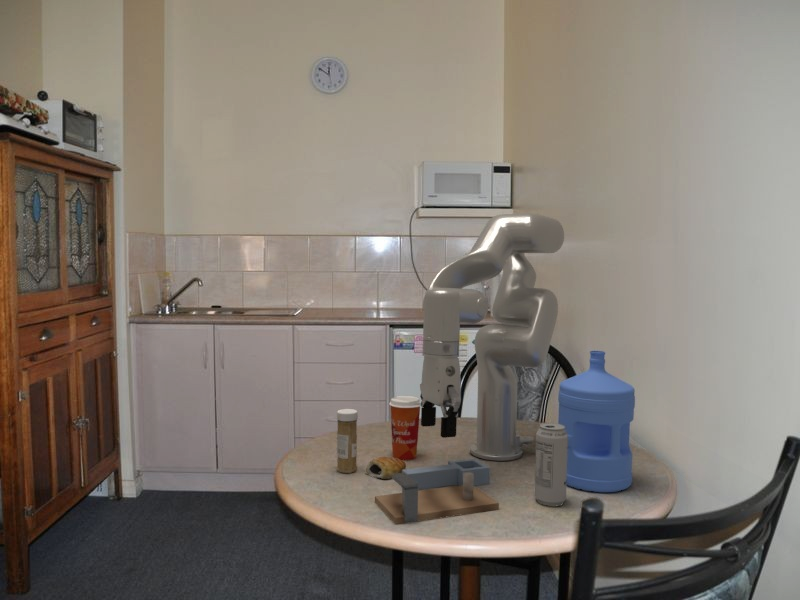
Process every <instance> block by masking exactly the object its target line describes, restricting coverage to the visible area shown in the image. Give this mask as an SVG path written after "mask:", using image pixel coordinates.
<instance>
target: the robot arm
mask: <svg viewBox="0 0 800 600" xmlns="http://www.w3.org/2000/svg"><path fill="white" fill-rule="evenodd" d="M564 240H565V230H564V227H563V225H562V224H561V222H560V221H559V220H558V219H556V218H553V217H549V216H545V215H541V214H538V213H537V214H536V213H506V214H504V213H503V214H498V215H494V216H493V217H491V218H490V219H489V220H488V221H487V223H486V224H485V226H484V227H483V229H482V231H481V232H480V234H479V235H478V237H477V239H476V241H475V243H474V244H473V246H472V247H471V250H469V252H468V253H466V254H465V255H463V256H460V257H459V258H457V259H456V260H454V261H452V262H451V263H449V264H448V265H446V266H444V267H443V268H442V269H441V270H439V272H438V273H437V274H436V275H435V276H434V278H433V279H432V281H431V283H430V284H429V286H428V287H427V289H426V291H425V293H424V296H423V301H422V310H423V311H422V312H423V329H422V353H421V354H422V355H421V356H423V362H422V371H421V383H420V384H419V389H420V390H419V391H420V403H421V406H420V412H421V413H420V415H421V416H420V425H421V427H435V426H436V423H437V422H436V418H437V407H436V406H438V407H440V409H441V412H442V416H441V419H440V437H441V438H443V439H444V438H455V437H456V436H457V425H458V423H457V422H458V421H457V420H458V419H457V418H458V417H459V412H460V407H461V403H462V388H461V386H462V384H461V382H462V378H461V366H460V360H459V359H460V356H459V355H460V336H461V335H460V334H461V332H460V331H461V324H463V325H466V324H467V325H475V324H477V323H480V322H482V321H483V320H484V319H485V318H486V316H487V314H488V311H489V300H488V299H487V297H486V295H485V294H484V293H483V292H482V291H479V290H478V289H475V288H466V287H469V286H472V285H475V284H478V283H482V282H487V281H488V280H491V279H494V278H496V277H497V276H499V275H500V274H501V273H502V275H501V279H500V281H499V285H498V288H497V291H496V294H495V297H494V301H493V304H492V309H491V313H492V317H493V319H494V320H495V322H497V323H498V324H497V323H494V324H493V323H492V324H486V325H483V326H481V327H480V328H479V329H478V330H477V332H476V333H475V337H474V351H475V357H476V363H477V403H476V405H477V406H476V407H477V410H476V413H477V414H476V443H473V444H472V445H471V446H470V448H469V452H470V454H471V455H472V456H474V457H476V458H479V459H482V460H486V461H487V460H488V461H496V462H497V461H498V462H501V461H502V462H504V461H514V460H518V459H520V458H521V457H522V456H523V450H522V448H521V447H523V445H533V444H534V438H533V436H532V435H529V436H527V435H526V436H523V435H522V434H521V435H519V434H517V419H518V418H517V413H518V412H517V411H518V409H517V408H518V380H517V378H516V375H515V373H514V371H513V370H512V368H511V366H512V367H520V368H521V367H522V368H531V369H532V368H538V367H540V366H542V365H543V364H544V362H545V361H546V359H547V356H548V354H549V353H548V352H549V349H550V345H551V341H552V338H553V334H554V330H555V326H556V322H557V319H558V314H559V313H558V312H559V304H558V298H557V296H556V294H555V293H554V292H553V291H552V290H550V289H547V288H544V287H543V288H541V287H535V285H536V282H537V281H536V280H537V272H536V271H535V269H534V267H533V264H532V263H531V262H530V261H529V260H528V258H527V257H526V255H525V254H555V253H557V252H558V251H559V250H560V249H561V248H562V247H563V244H564V242H565V241H564Z"/></svg>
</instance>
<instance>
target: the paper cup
mask: <svg viewBox="0 0 800 600" xmlns="http://www.w3.org/2000/svg"><path fill="white" fill-rule="evenodd" d="M388 404H389V405H390V423H391V425H390V426H391V427H390V428H391V447H392V458H398V459H400V460H402V461H412V460H416V458H417V451H418V441H419V440H418V439H419V428H420V427H419V426H420V415H421V413H420V412H421V399H420V398H418V397H416V396H412V395H411V396H409V395H398V396H394V397H392V398H391V399H390V402H389V403H388ZM411 459H412V460H411Z"/></svg>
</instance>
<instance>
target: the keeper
mask: <svg viewBox="0 0 800 600" xmlns="http://www.w3.org/2000/svg"><path fill="white" fill-rule="evenodd" d="M391 479H392V480H393V481H394V482H396V483H397V485H399V486H400V487H401V488H402V489H401V493H402V514H403V515H404V516H405V523H404V524H407V523H408V522H409V523H415V522H419V521H418V491H419V490H418V483H416V482H415V481H414V480H413V479H412V478H410V477H409V476H408V475H407V474H405V473H396V474H392V478H391Z"/></svg>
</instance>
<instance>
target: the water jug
mask: <svg viewBox="0 0 800 600" xmlns="http://www.w3.org/2000/svg"><path fill="white" fill-rule="evenodd" d="M589 354H590V358H589V368H588V369H587V371H584V372H582V373H578V374H576V375H574V376H572V377H569V378H566V379H564V380H562V381H561V382H560V383H559V390H558V420H557V421H558V422H557V424H561V425H563V426H565V431H566V433H567V435H568V450H567V482H566V486H569V487H571V488H573V487H574V489H577V490H580V489H582V491H585V490H587V491H586V492H591V491H594V492H593V493H615V492H621V490H622V491H624V490H626V489H628V488H629V487H630V486H631V485H632V482H633V472H632V471H633V470H632V468H633V452H632V450H631V447H630V432H631V431H630V430H631V429H630V427H631V425H630V424H631V422H633V421H634V416H635V414H634V413H635V407H636V396H635V388H634V387H633V385H632V384H629V383H628V382H626V381H624V380H622V379H620V378H618V377H617V376H615V375H613V374H611V373H609V372H607V370H606V369H605V364H606V359H605V356H606V351H603V350H590V351H589Z"/></svg>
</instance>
